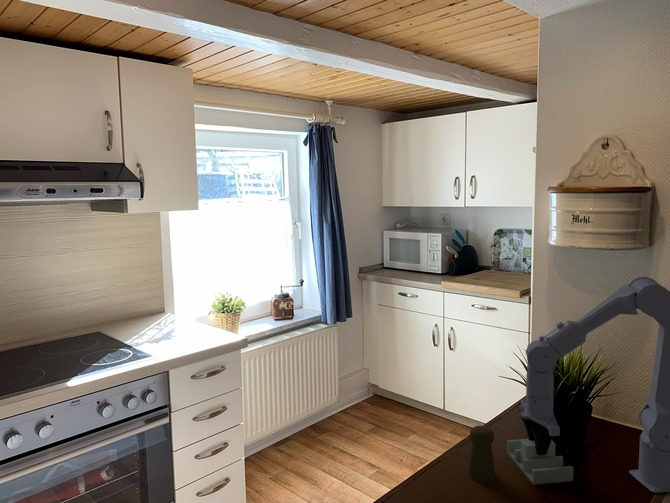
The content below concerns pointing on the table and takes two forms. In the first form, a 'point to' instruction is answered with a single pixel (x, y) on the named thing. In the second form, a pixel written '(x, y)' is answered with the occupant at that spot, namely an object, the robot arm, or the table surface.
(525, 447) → the white rectangular block
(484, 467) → the dark green pepper mill
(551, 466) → the rack
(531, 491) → the table surface
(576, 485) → the table surface
